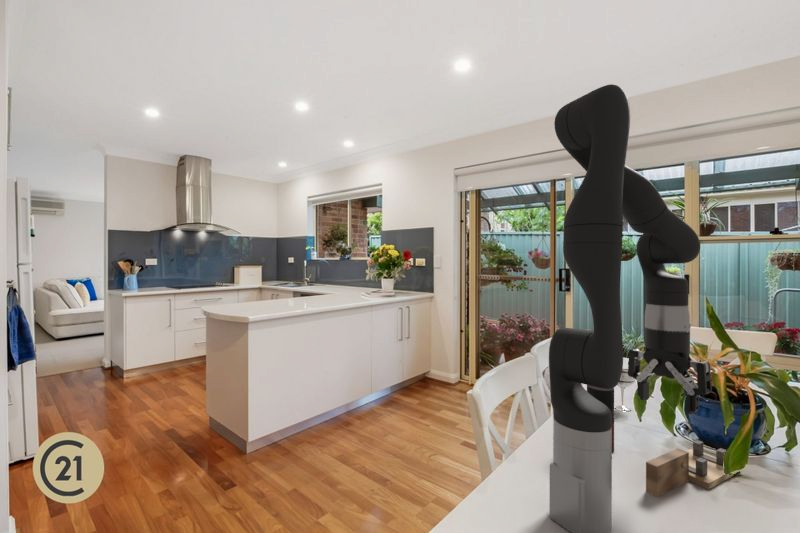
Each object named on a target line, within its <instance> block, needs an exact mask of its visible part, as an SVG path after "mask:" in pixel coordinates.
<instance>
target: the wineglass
mask: <svg viewBox="0 0 800 533" xmlns="http://www.w3.org/2000/svg"><path fill="white" fill-rule="evenodd" d="M635 382H636V379H635V378H633V377H630V376H629V375H628V368H624V367H623V368H622V374H621V378H620V381H619V382H618V384H617V385H616V386H618V388H619V389H620V391H621V392H620V393H621V394H620V395H621V396H620V397H621V398H620V399H621V405H615V406H616V408H618V409H621V410H622V409H623V410H624V409H625V410H628V408H629V407H628V406H624V397H625V389H627V388H630V387H631V386H632V385H634V383H635ZM627 407H628V408H627Z"/></svg>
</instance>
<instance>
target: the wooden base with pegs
mask: <svg viewBox="0 0 800 533" xmlns="http://www.w3.org/2000/svg"><path fill="white" fill-rule="evenodd" d="M726 450H727V449H724V448H721V447H720V448H718V449H716V450H715V451H716V452H715V454H716V456H714V455H711V454H709V453H705V452H704V442H703V441H702V440H697V439H696V440H694V441H693V442H692V448H690V449H687V450H685V451H686V452H689V481H690V482H692V483H693V484H695V485H699V486H701V487H703V488H705V489H707V490H711V489H712V488H714V487H716V486H717V485H719V484H721V483H723V482H724V481H727V480H728V479H730V478H732V477H733V476H735V475H734V474H731V475H729V474H725V473H724V469H723V455H724V453H725V452H726ZM689 481H688V482H689Z"/></svg>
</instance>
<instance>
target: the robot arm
mask: <svg viewBox="0 0 800 533" xmlns="http://www.w3.org/2000/svg"><path fill="white" fill-rule="evenodd" d="M553 124H554V131H555V134H556V137H557V140H558V141H559V143H560V144H561V146H562V147H563V148H564V149H565V151H567V152H568V154H569V155H570V156H571V157H572V158H573V159H574V160H575V161H576V162H577V163H578V164H579V165H580V166H581V167H582V168H583V169H584V171H585V172H586V173H585V174H584V176H583V177H584V178H583V179H582V181H581V184H580V186H579V188H578V189H577V190H576V192H575V194H574V196H573V198H572V200H571V202H570V204H569V205H568V208H567V211H566V213H565V216H564V219H563V220H564V221H563V232H562V234H563V236H562V237H563V240H562V253H563V257H564V260H565V263H566V265H567V267H568V268H569V270H570V272H571V274H572V275H573V276H574V279H576V282H578V284H579V286H580V287H581V290H582V291H583V293H584V295H585V296H586V298H587V301H588V304H589V306H590V310H591V315H592V322H593V323H592V324H593V330H590V329H581V328H571V327H561V328H558V329H557V330H555V332H554V333H553V334H552V335H551V336H552V337H551V339H550V342H549V348H548V370H549V388H550V390H549V392H550V402H551V407H552V411H553V412H552V413H553V414H552V419H553V422H552V426H553V427H552V428H553V433H552V434H553V436H552V440H553V441H552V445H553V446H552V447H553V448H552V452H553V453H552V459H553V460H552V462H551V463H550V464H549V514H548V516H549V518H550V519H551V520H553V522H556V523H557V524H558V525H560V526H561V527H563V528H564V529H565V530H566V531H568V532H569V533H611V532H612V528H613V524H612V523H613V517H612V513H613V512H612V511H613V504H612V501H613V494H612V492H613V491H612V490H613V487H612V485H613V484H612V482H613V481H612V480H613V479H612V478H613V477H612V475H613V474H612V472H613V471H612V470H613V468H612V467H613V463H612V462H613V461H612V460H613V453H612V414H611V411H610V409H609V408H608V407H607V406H606V405H605V404H603V403H602V402H600V401H599V400H597V399H596V398H594V397H593V396H592V395H590V394H589V393H588V392H587V389H585V387H584V386H583V385H586V386H587V385H591V386H595V387H599V388H605V389H612V388H614V389H615V388H616V386H617V384H618V382H619V381H620V378H621V374H622V368H624V367H623V366H624V344H623V342H624V340H623V329H622V328H623V324H622V312H621V311H622V309H621V272H622V256H623V254H622V253H623V228H624V227H623V223H624V222H623V220H624V219H625V221H626V222H627V223H628V225H629V227H630V228H631V230H632V231H634V232H637V233H639V234H641V235H640V237H639V238H638V240H637V242H636V248H635V251H636V256H637V259H638V262H639V266H640V268H641V270H642V275H643V278H644V282H645V288H646V290H645V291H646V293H645V294H646V295H645V296H646V297H645V299H646V302H645V303H646V304H645V311H644V347H645V350H641V349H639V348H634V349H630V350H629V351H628V365H627V367H628V368H627V369H628V375H629V376H630V377H633V378H635V381H636V382H637V396H638V397H639V399H640V400H641V401H647V400H649V398H650V382H649V381H648V380H649V379H650V378H652V377H653V376H654V375H655V376H659V377H666V378H668V379H672V380H673V379H675V380H676V382H677V383H678V384H679V385H680V386H682V387H683V388H684V390H685V391H686V393H687V394H685V413H686V414H688V415H694V414H696V412H699V410H700V396H705V395H708V394H711V393H712V392H713V388H712V386H713V384H712V376H711V374H712V373H711V372H712V371H711V364H710V362H709V361H705V360H704V361H696V360H692V359H691V356H690V353H691V327H692V326H691V317H690V316H691V315H690V314H691V313H690V310H689V309H690V308H689V282H688V280H687V278H686V277H684V276H681V275H675V274H671V273H669V272H668V270H667V269H666V267H665V265H666V264H667V265H668V264H676V265H677V264H688V263H691V262H693V261H694V260H695V259H696V258H697V257H698V256H699V254H700V251H701V242H700V238H699V237H698V234H697V233H696V231H695V230H694V229H693V228H692V227H691V226H690V225H689V224H688V223H687V222H685V220H683V219H682V218H681V217H680V216H678V215H677V214H676V213H675V212H673V210H671V209H669V207H668V206H667V204H666V202H665V200H664V199H663V197H662V195H661V194H660V192H659V191H658V189H657V188H656V186H655V185H654V184H653V183H652V182H651V180H649V179H648V178H647V177H646V176H644V175H643V174H641V173H640V172H638V171H636V170H635V169H633V168H631V167H629V166H627V165H626V160H627V159H626V158H627V152H628V144H629V137H630V128H631V108H630V102H629V99H628V95H627V94H626V92H625V91H624V89H623V88H622V87H620V86H619V85H617V84H612V83H611V84H607V85H603V86H600V87H598V88H596V89H594V90H592V91H590V92H588V93H586V94H584V95H582V96H580V97H578V98H575V99H574V100H572V101H570V102H568V103H566V104H565V105H563V106H562V107H561V108H560V109H559V110H558V111H557V112H556V115H555V118H554V123H553ZM623 218H624V219H623ZM643 359H644V361H645V362H646V364H647V365H646V366H644V368H643V369H642V370H641V361H642V360H643ZM690 368H692V369H693V371H694V372H695V373H696V378H697V379H696V380H697V382H695V379H694V377H693V376H692V374H691V373H690V372H689V369H690Z"/></svg>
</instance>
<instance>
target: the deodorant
mask: <svg viewBox="0 0 800 533" xmlns="http://www.w3.org/2000/svg"><path fill="white" fill-rule="evenodd" d="M586 391H587V392H588V393H589V394H590V395H592V396H593V397H594V398H596V399H597V400H599V401H600V402H602V403H603V404H605V405H606V406H607V407H608V408H609V409H610V411H611V414H612V454H613V453H615V408H614V406H615V387H614V388H612V389H605V388H599V387H595V386H591V385H586Z"/></svg>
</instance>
